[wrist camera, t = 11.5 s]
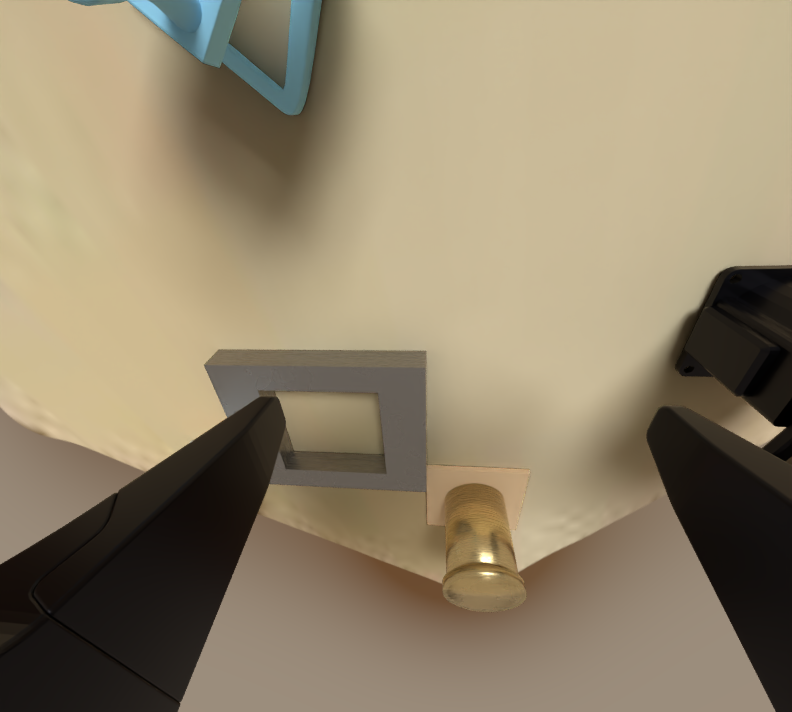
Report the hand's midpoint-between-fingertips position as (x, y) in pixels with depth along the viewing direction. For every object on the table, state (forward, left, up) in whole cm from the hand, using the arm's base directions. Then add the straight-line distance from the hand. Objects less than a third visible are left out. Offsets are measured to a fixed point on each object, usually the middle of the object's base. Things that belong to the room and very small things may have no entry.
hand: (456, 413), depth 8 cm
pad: (-3, +21, -12) cm, 24 cm away
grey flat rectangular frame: (+8, +12, -12) cm, 19 cm away
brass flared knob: (-3, +21, -12) cm, 24 cm away
